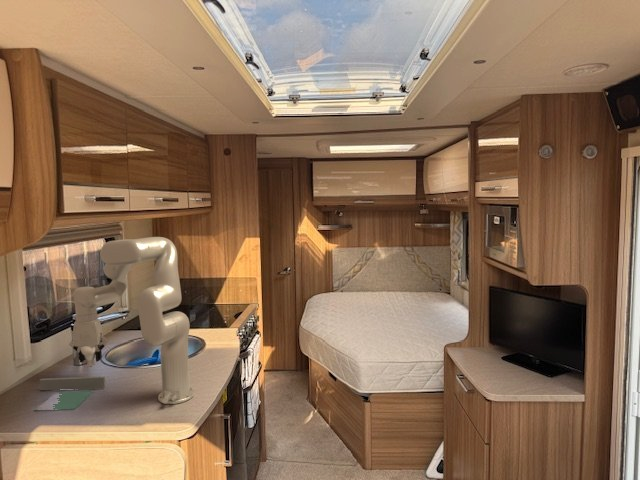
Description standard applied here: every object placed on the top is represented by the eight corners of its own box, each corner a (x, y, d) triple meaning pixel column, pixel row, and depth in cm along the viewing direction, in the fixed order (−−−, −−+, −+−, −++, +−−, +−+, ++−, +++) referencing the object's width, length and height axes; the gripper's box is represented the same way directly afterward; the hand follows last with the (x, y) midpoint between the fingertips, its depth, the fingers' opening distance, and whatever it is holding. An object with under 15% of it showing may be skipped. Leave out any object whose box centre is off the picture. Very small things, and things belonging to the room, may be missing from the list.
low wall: (104, 388, 166) (103, 377, 166) (40, 391, 165) (39, 380, 165) (105, 387, 168) (105, 376, 167) (42, 389, 166) (41, 378, 166)
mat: (74, 409, 150) (74, 408, 150) (33, 411, 149) (33, 410, 149) (93, 391, 164) (93, 390, 164) (55, 393, 163) (55, 392, 163)
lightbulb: (83, 365, 177) (81, 339, 176) (100, 362, 180) (98, 337, 179) (81, 370, 172) (78, 343, 171) (99, 367, 174) (96, 341, 173)
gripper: (59, 321, 170) (64, 365, 171) (104, 318, 171) (108, 363, 172) (69, 316, 177) (73, 358, 179) (112, 314, 178) (116, 356, 180)
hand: (90, 360), depth 175 cm, fingers closed on lightbulb, 5 cm apart
